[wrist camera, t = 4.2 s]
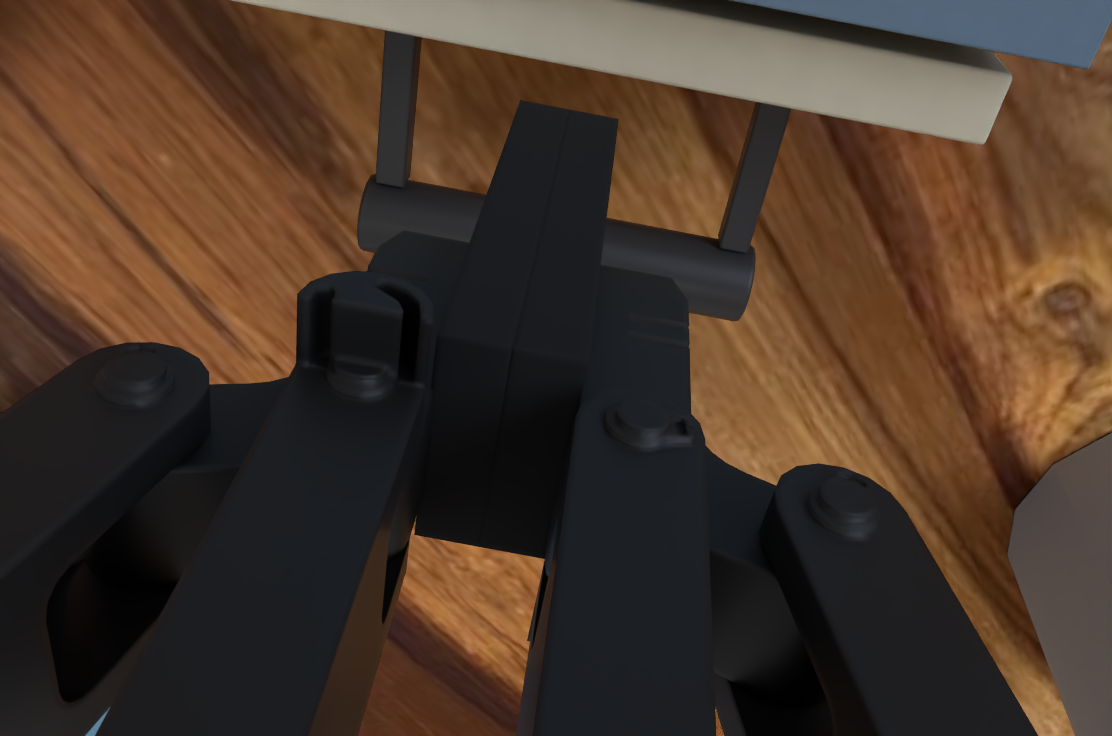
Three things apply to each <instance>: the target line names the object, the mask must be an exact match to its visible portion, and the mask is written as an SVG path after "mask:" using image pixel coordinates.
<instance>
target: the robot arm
mask: <svg viewBox="0 0 1112 736" xmlns="http://www.w3.org/2000/svg"><path fill="white" fill-rule="evenodd" d="M617 128H618V119H616V118H611V117H605V116H600V115H595V114H590V113H584V112H579V111H574V110H569V109H563V108H558V107H553V106H548V105H543V104H537V103H532V102H527V101H522V100H520V103H519V106H518V109H517V111H516V114H515V117H514V120H513V122H512V125H511V128H510V131H509V134H508V136H507V139H506V142H505V145H504V148H503V150H502V153H501V156H500V159H499V162H498V164H497V167H496V170H495V173H494V176H493V178H492V181H491V184H490V187H489V189H488V192H487V195H486V198H485V201H484V203H483V206H482V209H481V212H480V215H479V217H478V220H477V223H476V226H475V229H474V231H473V234H472V237H471V240H470V242H463V241H458V240H453V239H447V238H442V237H437V236H432V235H426V234H421V233H416V232H410V231H405V230H404V231H402V232H401V233H399V234H397V235H396V236H394V237H393V238H391V239H389V240H388V241H386V242H384V243H383V244H381V245H380V246H379V247H378V249H377V251H376V253H375V254H374V256H373V258H372V260H371V262H370V264H369V266H368V271H366V272H362V271H351V272H342V273H334V274H329V275H327V276H324V277H321V278H319V279H316V280H314V281H311V282H309V283H308V284H307V285H306V286H305V287H304V288H303V289H302V290H301V291H300V292H299V293H298V294H297V345H296V365H295V367H294V369H293V371H292V372H291V374H290V376H289V377H287V378H283V379H279V380H275V381H271V382H262V383H251V384H213V385H209V372H208V370H207V369H206V367H205V366H204V365H203V363H202V362H201V361H200V359H199V358H198V357H196V356H194V355H192V354H190V353H188V352H187V351H185V350H183V349H181V348H178V347H174V346H169V345H164V344H160V343H155V342H150V343H140V342H139V343H124V344H119V345H115V346H110V347H106V348H101V349H98V350H96V351H94V352H92V353H90V354H88V355H86V356H84V357H82V358H80V359H78V360H77V361H75V362H74V363H72V364H71V365H69V366H68V367H67V368H65V369H64V370H62V371H61V372H60V373H58V374H57V375H55V376H54V377H52V378H51V379H50V380H48V381H47V382H45V383H44V384H43V385H41V386H40V387H38V388H37V389H36V390H34V391H33V392H31V393H30V394H28V395H27V396H26V397H24V398H23V399H21V400H20V401H19V402H17V403H16V404H14V405H13V406H11V407H10V408H9V409H7V410H6V411H4V412H3V413H2V414H0V736H85V735H86V734H87V733H88V732H89V731H90V730H91V729H92V727H93V726H94V725H95V724H96V723H97V722H98V721H99V719H100V718H101V717H102V716H103V715H104V714H105V713H106V711H107V710H108V709H109V708H110V709H109V710H108V712H107V714H106V716H105V718H104V720H103V722H102V723H101V725H100V727H99V729H98V731H97V733H96V734H95V736H358V733H359V729H360V726H361V722H362V719H363V716H364V712H365V709H366V705H367V702H368V699H369V695H370V692H371V688H372V685H373V682H374V678H375V675H376V671H377V668H378V665H379V661H380V658H381V654H382V651H383V647H384V644H385V641H386V637H387V634H388V630H389V627H390V624H391V620H392V617H393V613H394V610H395V607H396V603H397V600H398V596H399V593H400V590H401V586H402V583H403V579H404V576H405V573H406V567H407V558H408V549H409V540H410V535H411V532H412V528H413V525H414V522H415V518H416V525H415V534H414V535H419V536H424V537H429V538H435V539H440V540H446V541H451V542H456V543H462V544H467V545H473V546H478V547H483V548H489V549H494V550H500V551H505V552H510V553H516V554H521V555H527V556H532V557H537V558H543V559H545V561H544V566H543V570H542V575H541V580H540V584H539V589H538V593H537V598H536V603H535V607H534V612H533V616H532V621H531V626H530V630H529V635H528V639H527V641H530V646H529V653H528V659H527V666H526V673H525V679H524V686H523V692H522V699H521V706H520V712H519V719H518V725H517V732H516V736H716V716H715V707H716V710H717V713H718V716H719V720H720V723H721V726H722V729H723V733H724V736H1038V735H1037V733H1036V731H1035V729H1034V728H1033V726H1032V724H1031V723H1030V721H1029V719H1028V718H1027V716H1026V714H1025V712H1024V711H1023V709H1022V707H1021V706H1020V704H1019V702H1018V701H1017V699H1016V697H1015V695H1014V694H1013V692H1012V690H1011V689H1010V687H1009V685H1008V684H1007V682H1006V680H1005V679H1004V677H1003V675H1002V673H1001V672H1000V670H999V668H998V667H997V665H996V663H995V662H994V660H993V658H992V656H991V655H990V653H989V651H988V650H987V648H986V646H985V645H984V643H983V641H982V640H981V638H980V636H979V634H978V633H977V631H976V629H975V628H974V626H973V624H972V623H971V621H970V619H969V617H968V616H967V614H966V612H965V611H964V609H963V607H962V606H961V604H960V602H959V601H958V599H957V597H956V595H955V594H954V592H953V590H952V589H951V587H950V585H949V584H948V582H947V580H946V578H945V577H944V575H943V573H942V572H941V570H940V568H939V567H938V565H937V563H936V562H935V560H934V558H933V556H932V555H931V553H930V551H929V550H928V548H927V546H926V545H925V543H924V541H923V539H922V538H921V536H920V534H919V533H918V531H917V529H916V528H915V526H914V524H913V523H912V521H911V519H910V517H909V516H908V514H907V512H906V511H905V510H904V508H903V507H902V506H901V505H900V504H899V502H898V501H897V500H896V499H895V498H894V496H893V495H892V494H891V493H890V492H888V491H887V490H886V489H884V488H883V487H881V486H880V485H878V484H877V483H876V482H874V481H873V480H871V479H870V478H868V477H866V476H863V475H861V474H858V473H856V472H853V471H851V470H848V469H846V468H843V467H837V466H831V465H824V464H811V465H803V466H796V467H795V468H793V469H791V470H790V471H788V472H786V473H785V474H783V475H781V477H780V479H779V481H778V484H777V486H776V485H773V484H771V483H768V482H766V481H764V480H761V479H759V478H756V477H754V476H752V475H749V474H747V473H745V472H743V471H741V470H739V469H737V468H735V467H733V466H731V465H729V464H727V463H726V462H724V461H723V460H722V459H720V458H719V457H718V456H716V455H715V454H713V453H712V452H711V451H710V450H709V449H708V448H707V447H706V445H705V437H704V434H703V431H702V428H701V425H700V423H699V422H698V421H697V420H696V419H695V417H694V416H693V415H692V414H691V391H690V350H689V348H688V347H689V329H688V326H689V309H688V300H687V299H686V297H685V296H684V294H683V293H682V292H681V290H680V289H679V287H678V286H677V284H676V283H675V281H674V280H673V279H672V278H669V277H664V276H659V275H653V274H648V273H643V272H637V271H632V270H627V269H622V268H616V267H611V266H606V265H601V258H602V250H603V242H604V234H605V225H606V217H607V209H608V201H609V193H610V185H611V176H612V168H613V160H614V152H615V144H616V136H617ZM416 515H417V516H416Z"/></svg>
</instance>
